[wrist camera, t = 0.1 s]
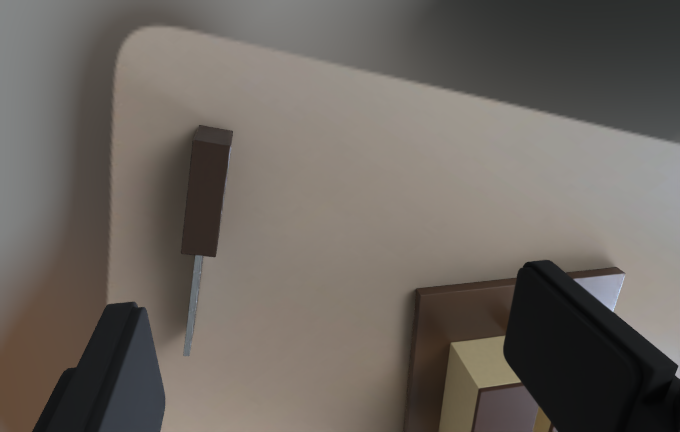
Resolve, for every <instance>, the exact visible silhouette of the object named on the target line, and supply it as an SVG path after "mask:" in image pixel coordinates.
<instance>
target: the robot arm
mask: <svg viewBox="0 0 680 432" xmlns="http://www.w3.org/2000/svg"><path fill="white" fill-rule="evenodd" d="M503 354H504V358H505V360H506V362H507V363H508V365H509V366H510V367H511V369H512V370H513V371H514V373H515V374H516V375H517V377H518V378H519V380H520V381H521V382H522V384H523V385H524V386H525V388H526V389H527V390H528V392H529V393H530V394H531V396H532V397H533V399H534V400H535V401H536V403H537V404H538V405H539V407H540V408H541V409H542V411H543V412H544V413H545V415H546V416H547V418H548V419H549V420H550V422H551V423H552V424H553V426H554V427H555V428H556V430H557V431H558V432H680V379H679V378H677V377H676V376H675V373H676V371H677V368H678V365H677V364H676V363H674V362H673V361H672V360H671V359H670V358H668V357H667V356H666V355H665V354H663V353H662V352H661V351H660V350H659V349H657V348H656V347H655V346H654V345H653V344H651V343H650V342H649V341H648V340H646V339H645V338H644V337H643V336H642V335H640V334H639V333H638V332H637V331H636V330H634V329H633V328H632V327H631V326H629V325H628V324H627V323H626V322H625V321H623V320H622V319H621V318H620V317H619V316H617V315H616V314H615V313H614V312H612V311H611V310H610V309H609V308H608V307H606V306H605V305H604V304H603V303H602V302H600V301H599V300H598V299H597V298H595V297H594V296H593V295H592V294H591V293H589V292H588V291H587V290H586V289H585V288H583V287H582V286H581V285H580V284H578V283H577V282H576V281H575V280H574V279H572V278H571V277H570V276H569V275H568V274H566V273H565V272H564V271H563V270H561V269H560V268H559V267H558V266H557V265H555V264H554V263H553V262H551V261H550V260H542V261H532V262H527V263H525V264H524V266H523V268H521V269H520V270H519V271H518V274H517V279H516V284H515V289H514V294H513V299H512V304H511V309H510V314H509V320H508V325H507V330H506V335H505V340H504V345H503ZM164 411H165V392H164V388H163V383H162V379H161V374H160V369H159V365H158V360H157V356H156V351H155V347H154V342H153V337H152V333H151V328H150V324H149V319H148V314H147V311H146V308H145V307H139V308H138V306H137V304H136V303H135V302H126V303H116V304H108V305H107V306H106V308H105V309H104V311H103V314H102V316H101V318H100V320H99V322H98V324H97V326H96V328H95V330H94V332H93V334H92V336H91V339H90V340H89V343H88V345H87V347H86V349H85V351H84V353H83V355H82V357H81V359H80V361H79V363H78V365H77V367H76V368H68V369H67V370H66V371H64V372H63V374H62V375H61V377H60V379H59V381H58V383H57V385H56V386H55V388H54V391H53V392H52V394H51V396H50V398H49V400H48V402H47V404H46V406H45V408H44V410H43V412H42V414H41V416H40V418H39V420H38V422H37V423H36V425H35V427H34V429H33V431H32V432H160V430H161V425H162V420H163V416H164Z"/></svg>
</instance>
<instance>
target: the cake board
mask: <svg viewBox="0 0 680 432" xmlns="http://www.w3.org/2000/svg"><path fill="white" fill-rule="evenodd" d="M566 274H568V275H569V276H570V277H571V278H572V279H574V280H575V281H576V282H577V283H578V284H580V285H581V286H582V287H583V288H585V289H586V290H587V291H588V292H589V293H591V294H592V295H593V296H594V297H595V298H597V299H598V300H599V301H600V302H602V303H603V304H604V305H605V306H606V307H608V308H609V309H610V310H611V311H612V312H613V311H614V308H615V304H616V301H617V298H618V295H619V292H620V289H621V285H622V282H623V279H624V276H625V273H624V272H623V271H621V270H620V269H619V268H617V267H614V268H605V269H596V270H586V271H577V272H567V273H566ZM516 279H517V278H511V279H502V280H492V281H483V282H474V283H464V284H455V285H446V286H436V287H427V288H417V289H416V299H415V310H414V321H413V332H412V343H411V355H410V366H409V377H408V388H407V400H406V411H405V422H404V432H439V425H440V418H441V411H442V403H443V396H444V389H445V381H446V374H447V366H448V359H449V352H450V344H451V343H452V342H460V341H468V340H475V339H483V338H491V337H498V336H505V335H506V330H507V325H508V320H509V314H510V309H511V304H512V299H513V294H514V289H515V284H516Z"/></svg>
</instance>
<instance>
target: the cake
mask: <svg viewBox="0 0 680 432" xmlns="http://www.w3.org/2000/svg"><path fill="white" fill-rule="evenodd" d="M504 340H505V336H498V337H491V338H483V339H475V340H468V341H460V342H452V343H451V344H450V352H449V359H448V366H447V374H446V381H445V389H444V396H443V403H442V411H441V418H440V425H439V432H558V431H557V430H556V428H555V427H554V426H553V424H552V423H551V422H550V420H549V419H548V418H547V416H546V415H545V413H544V412H543V411H542V409H541V408H540V407H539V405H538V404H537V403H536V401H535V400H534V399H533V397H532V396H531V394H530V393H529V392H528V390H527V389H526V388H525V386H524V385H523V384H522V382H521V381H520V380H519V378H518V377H517V375H516V374H515V373H514V371H513V370H512V369H511V367H510V366H509V365H508V363H507V362H506V360H505V358H504V354H503V345H504Z"/></svg>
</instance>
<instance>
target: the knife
mask: <svg viewBox="0 0 680 432" xmlns="http://www.w3.org/2000/svg"><path fill="white" fill-rule="evenodd" d="M232 136H233V131H230V130H224V129H219V128H213V127H207V126H202V125H199V128H198V130H197V132H196V135H195V137H194V139H193V145H192V155H191V164H190V173H189V183H188V192H187V202H186V211H185V220H184V230H183V239H182V249H181V254H189V255H195V262H194V270H193V279H192V287H191V295H190V304H189V312H188V320H187V329H186V337H185V345H184V354H183V356H189V355H190V350H191V344H192V338H193V332H194V325H195V318H196V310H197V302H198V294H199V286H200V279H201V271H202V263H203V256H208V257H216V251H217V244H218V237H219V230H220V223H221V216H222V209H223V201H224V194H225V187H226V180H227V173H228V166H229V158H230V151H231V144H232Z"/></svg>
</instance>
